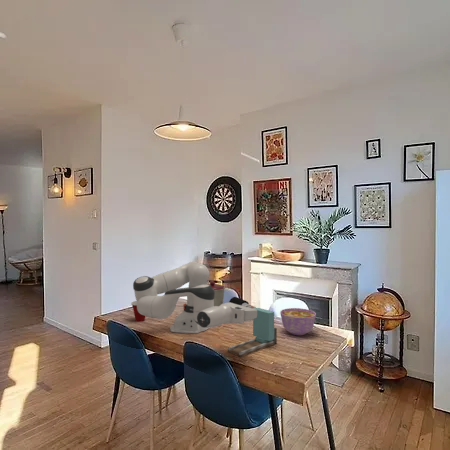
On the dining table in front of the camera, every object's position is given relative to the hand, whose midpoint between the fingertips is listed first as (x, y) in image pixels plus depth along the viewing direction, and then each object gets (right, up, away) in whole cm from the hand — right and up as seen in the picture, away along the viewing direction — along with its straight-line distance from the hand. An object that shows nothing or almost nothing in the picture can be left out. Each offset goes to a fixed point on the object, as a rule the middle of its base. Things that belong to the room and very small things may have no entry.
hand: (249, 307), depth 166 cm
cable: (+5, -20, +55) cm, 59 cm away
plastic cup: (-67, -20, +48) cm, 85 cm away
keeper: (+8, -19, +8) cm, 22 cm away
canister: (-21, -20, +71) cm, 77 cm away
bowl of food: (+29, -21, +24) cm, 43 cm away
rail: (+2, -21, +2) cm, 21 cm away
